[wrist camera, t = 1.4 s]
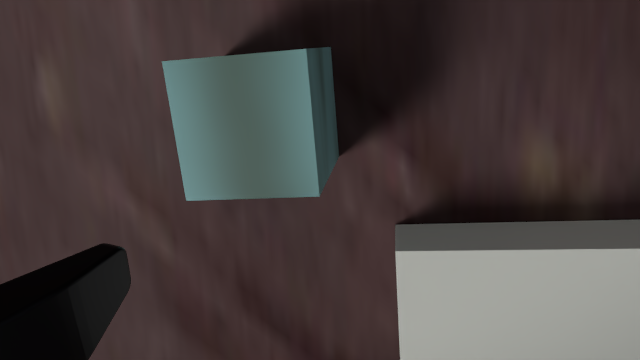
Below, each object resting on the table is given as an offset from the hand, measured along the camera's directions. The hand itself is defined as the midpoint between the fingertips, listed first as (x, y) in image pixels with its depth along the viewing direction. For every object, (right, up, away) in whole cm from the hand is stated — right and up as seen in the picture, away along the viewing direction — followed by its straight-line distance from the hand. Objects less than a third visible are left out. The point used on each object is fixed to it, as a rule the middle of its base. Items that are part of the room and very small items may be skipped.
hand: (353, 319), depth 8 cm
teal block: (-2, +6, +13) cm, 15 cm away
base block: (+10, -5, +15) cm, 18 cm away
